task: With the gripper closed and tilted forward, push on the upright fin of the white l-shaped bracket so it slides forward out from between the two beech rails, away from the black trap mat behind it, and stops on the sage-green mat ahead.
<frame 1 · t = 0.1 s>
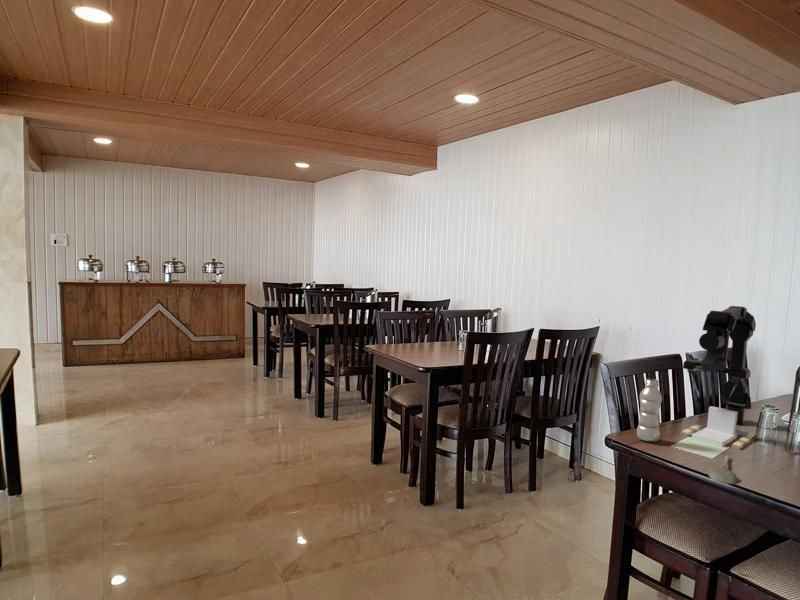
hand: (713, 393, 173), 15 cm above the table, tool pointing down, fingers open, 9 cm apart
trap mat: (727, 430, 181), on the table
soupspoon: (724, 472, 143), on the table
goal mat: (699, 447, 161), on the table
white l-shaped bracket: (714, 438, 171), on the table, touching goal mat
plastic bottle: (647, 441, 166), on the table
channel: (715, 438, 172), on the table
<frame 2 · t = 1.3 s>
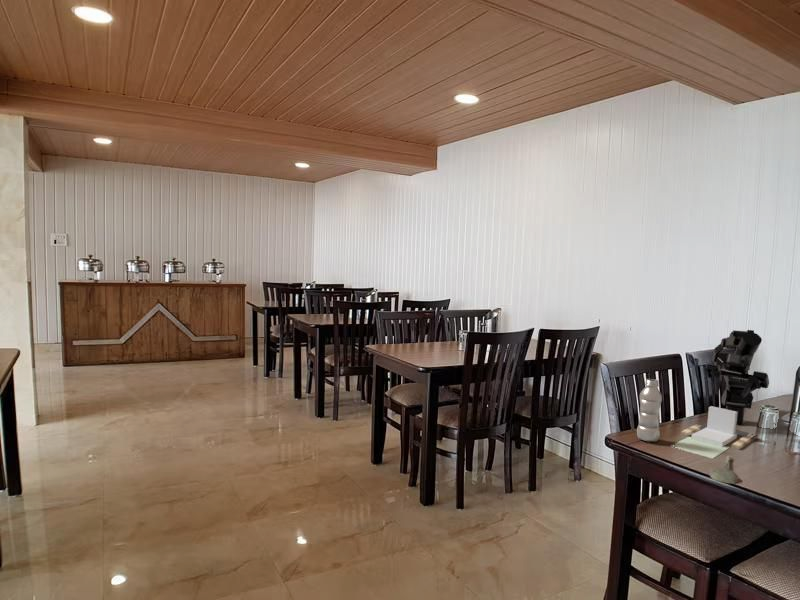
hand: (729, 394, 179), 13 cm above the table, tool tilted 45°, fingers open, 8 cm apart
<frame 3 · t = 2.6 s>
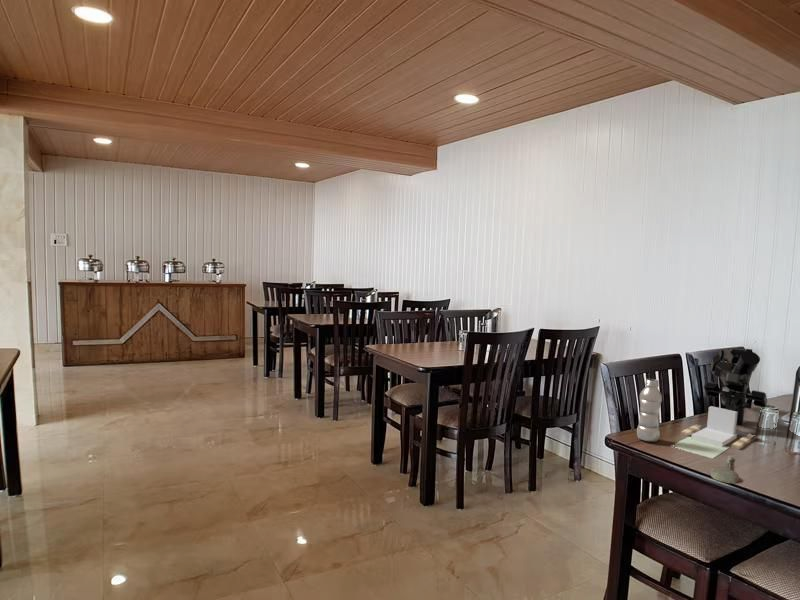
hand: (728, 413, 179), 7 cm above the table, tool tilted 45°, fingers closed
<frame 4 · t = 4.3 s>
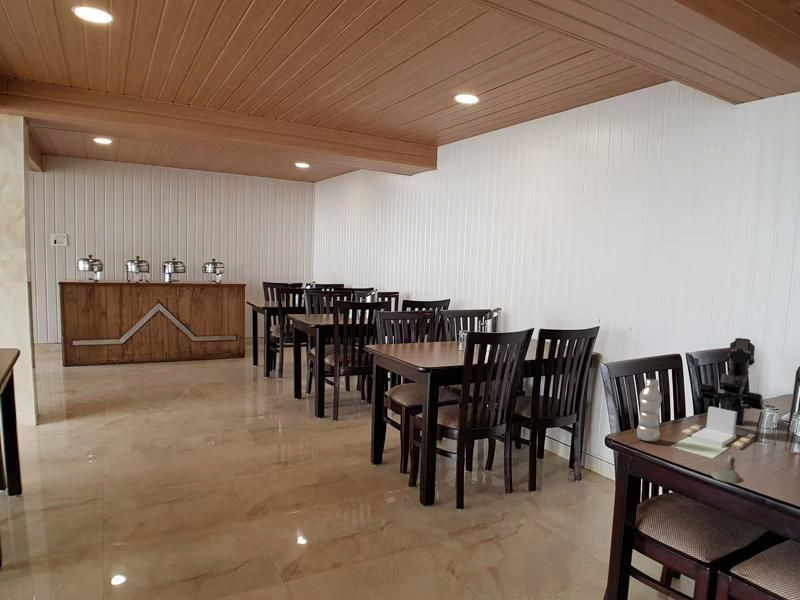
hand: (723, 415, 176), 7 cm above the table, tool tilted 45°, fingers closed, pressing on white l-shaped bracket
white l-shaped bracket: (713, 438, 170), on the table, touching gripper
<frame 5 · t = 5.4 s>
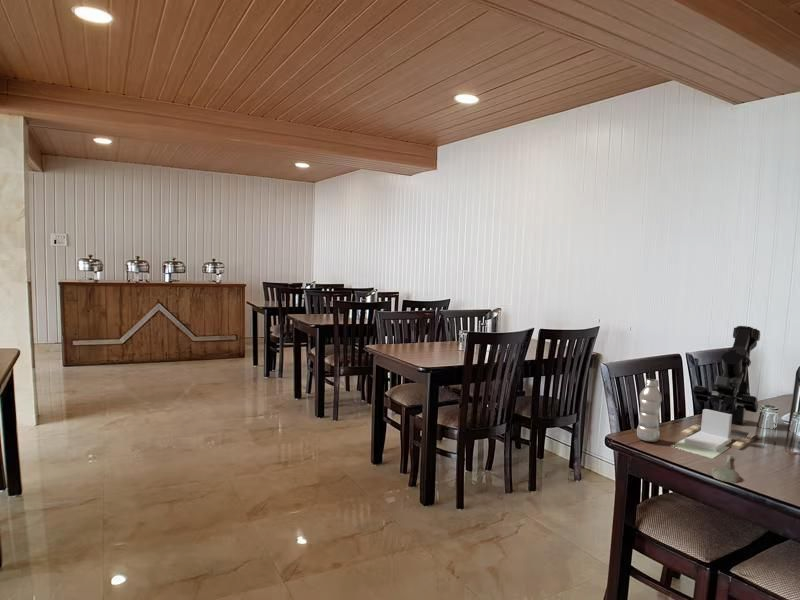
hand: (717, 418, 171), 7 cm above the table, tool tilted 45°, fingers closed
white l-shaped bracket: (708, 442, 166), on the table
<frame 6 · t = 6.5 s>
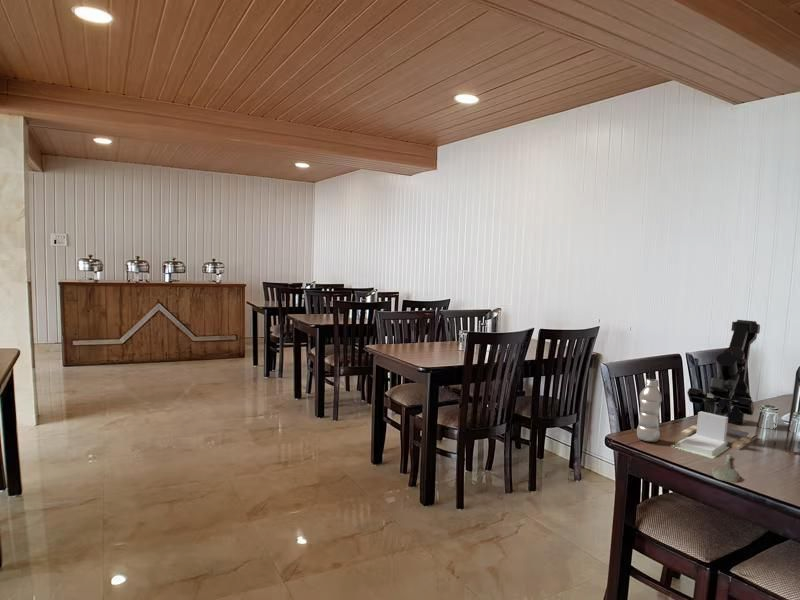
hand: (712, 421, 168), 7 cm above the table, tool tilted 45°, fingers closed, pressing on white l-shaped bracket
white l-shaped bracket: (703, 446, 162), resting on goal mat, touching gripper
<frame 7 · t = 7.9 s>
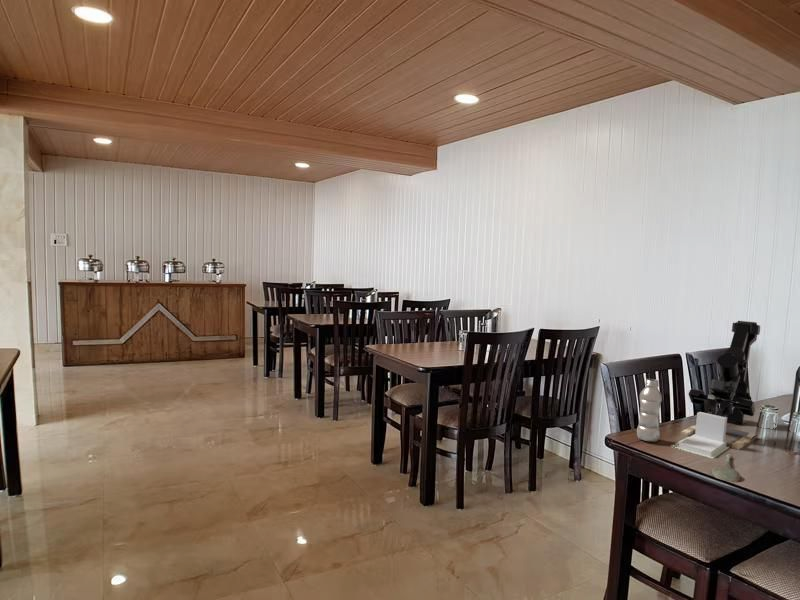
hand: (713, 422, 169), 6 cm above the table, tool tilted 45°, fingers closed
white l-shaped bracket: (702, 446, 162), resting on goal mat
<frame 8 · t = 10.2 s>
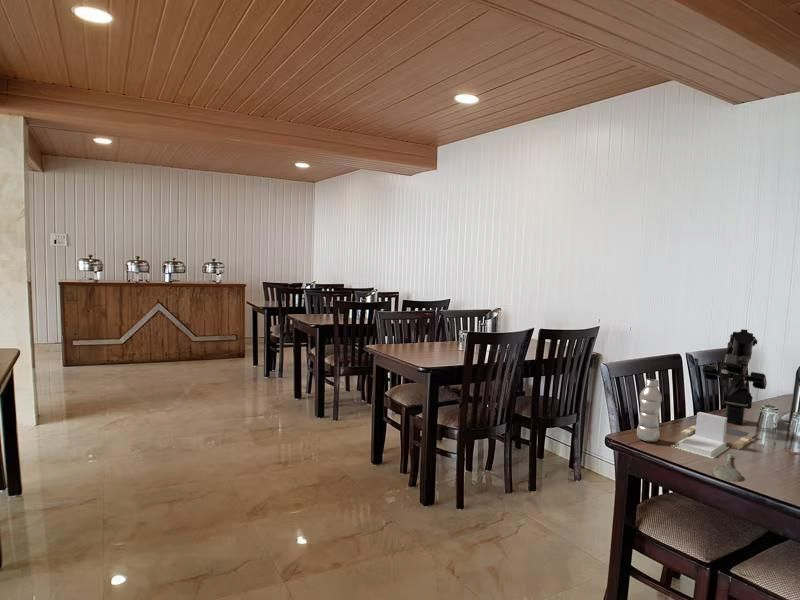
hand: (726, 395, 176), 14 cm above the table, tool tilted 45°, fingers closed
at the end: white l-shaped bracket inside the target area (1.5 cm from its centre), resting on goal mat; white l-shaped bracket tilted 0° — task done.
